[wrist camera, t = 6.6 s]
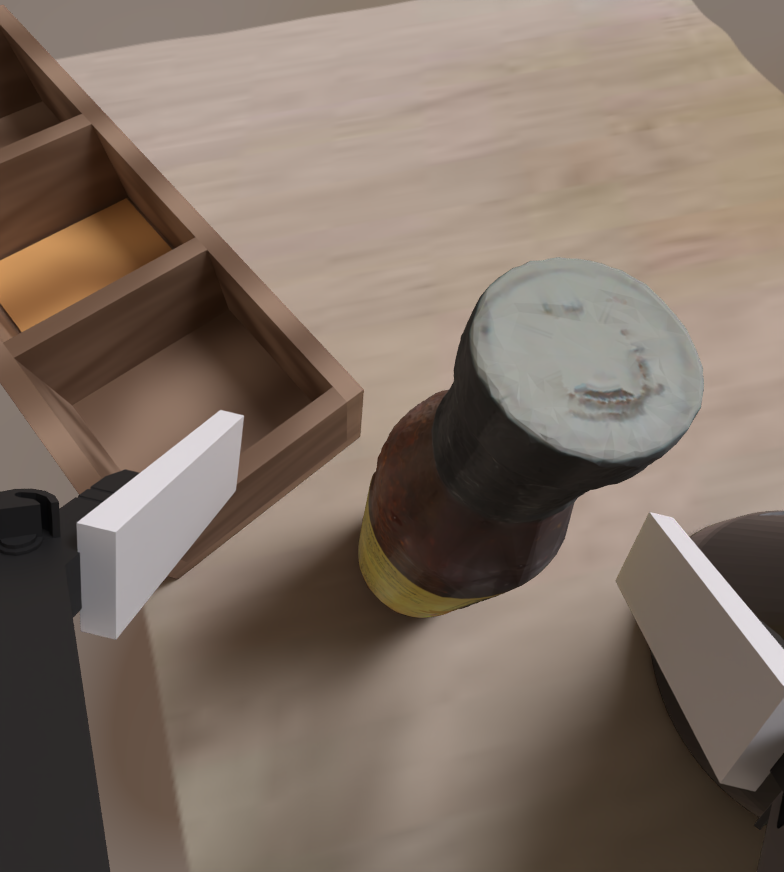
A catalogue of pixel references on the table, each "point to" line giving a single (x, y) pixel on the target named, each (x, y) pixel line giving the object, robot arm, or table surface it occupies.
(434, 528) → the sauce bottle
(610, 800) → the table surface
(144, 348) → the wooden compartment tray
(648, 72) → the table surface
